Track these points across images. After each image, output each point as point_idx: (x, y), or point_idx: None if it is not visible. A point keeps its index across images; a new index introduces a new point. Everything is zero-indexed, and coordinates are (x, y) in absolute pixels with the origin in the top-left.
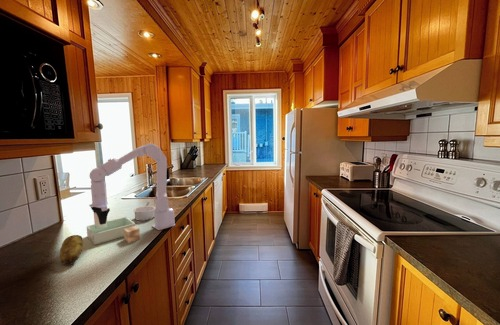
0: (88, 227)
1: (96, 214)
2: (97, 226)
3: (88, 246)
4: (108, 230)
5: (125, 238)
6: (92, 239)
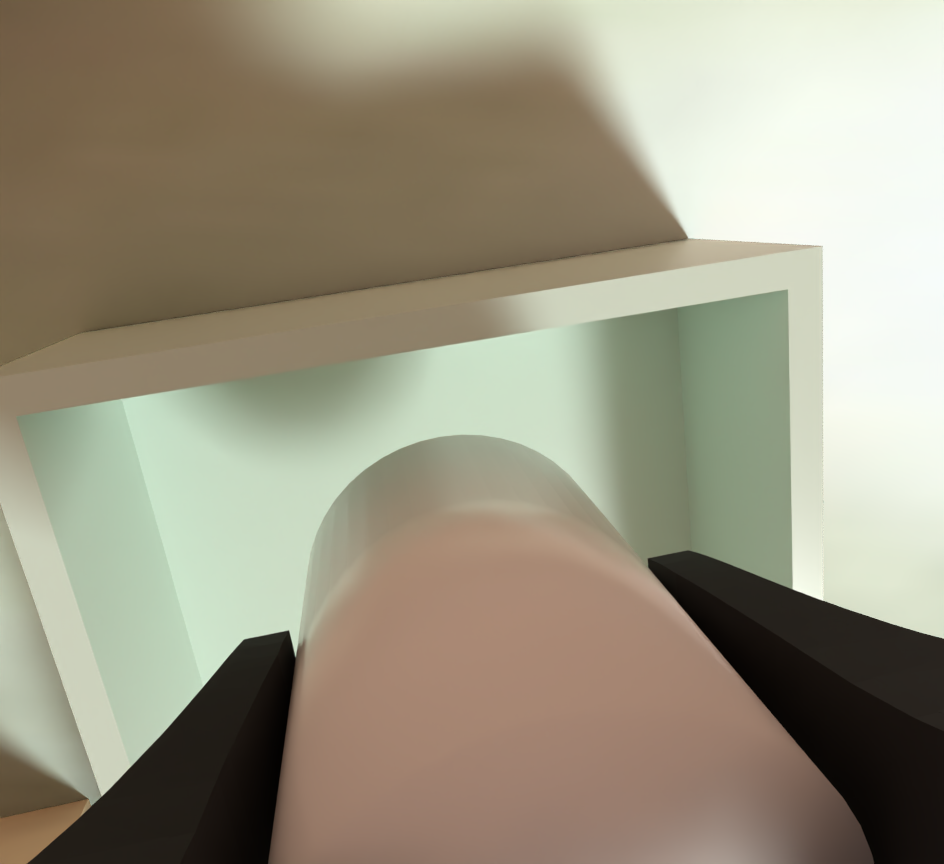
0: (671, 286)
1: (317, 839)
2: (338, 524)
3: (93, 224)
4: (74, 716)
5: (14, 837)
6: (220, 319)
